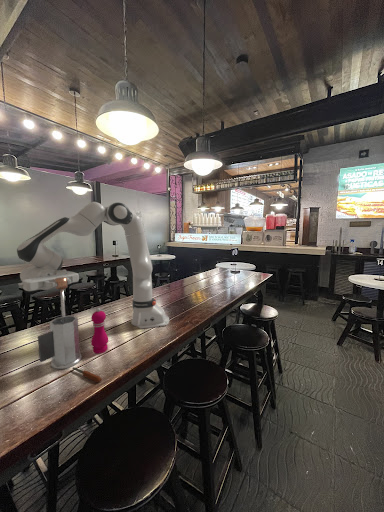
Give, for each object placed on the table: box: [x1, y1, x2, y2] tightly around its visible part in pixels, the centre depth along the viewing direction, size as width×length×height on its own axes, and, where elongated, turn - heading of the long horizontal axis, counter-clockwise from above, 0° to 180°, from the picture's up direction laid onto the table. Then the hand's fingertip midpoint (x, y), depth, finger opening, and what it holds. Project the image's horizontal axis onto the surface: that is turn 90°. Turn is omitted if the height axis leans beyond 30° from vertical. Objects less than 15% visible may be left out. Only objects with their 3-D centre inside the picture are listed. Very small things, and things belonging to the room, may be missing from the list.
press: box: [37, 315, 82, 371], centre depth 88 cm, size 11×14×18 cm
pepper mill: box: [90, 307, 109, 354], centre depth 98 cm, size 7×7×20 cm
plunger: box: [55, 277, 68, 324], centre depth 88 cm, size 6×6×26 cm
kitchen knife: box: [71, 366, 102, 383], centre depth 81 cm, size 16×1×2 cm, turn 64°
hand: (62, 283), depth 86 cm, fingers closed on plunger, 4 cm apart
